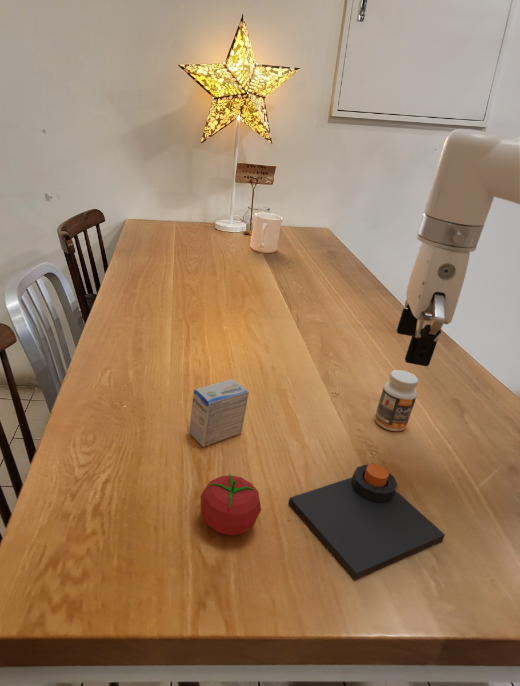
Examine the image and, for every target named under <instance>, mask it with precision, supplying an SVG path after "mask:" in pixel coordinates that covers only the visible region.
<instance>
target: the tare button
mask: <svg viewBox="0 0 520 686" xmlns="http://www.w3.org/2000/svg"><path fill="white" fill-rule="evenodd" d="M367 465H368V466H367V469H366V472H365V475H364V479H365V481H366V482H367V483H368V484H370V485H372V486H374V487H384V486H385V485H386V482H387V479H388V476H389V473H390V472H389V471H388V469H387V468H386V467H385V466H383V465H380V464H377V463H371V464H367Z"/></svg>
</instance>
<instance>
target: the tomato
mask: <svg viewBox="0 0 520 686" xmlns="http://www.w3.org/2000/svg"><path fill="white" fill-rule="evenodd" d="M261 511H262V506H261V500H260V494H259V491H258V490H257V488H256V487H255V486H254V484H253V483H251V482H250V481H248V480H246V479H244V478H243V477H241V476H237V475H232V474H231V473H228V475H221V476H218V477H216V478H213V479H212V480H209V482H208V483H207V485H206V486H205V488H204V489H203V491H202V493H201V495H200V513H201V517H202V518H203V520H204V521H205V523H206V525H207V526H209V527H210V528H211V529H213V531H216V532H218V533H219V534H222V535H225V536H235V535H241V534H243V533H245V532H248V531H249V530H250V529H252V528H253V527H254V525H255V523H256V521H257V519H258V518H259V516H260V513H261Z"/></svg>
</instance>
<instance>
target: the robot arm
mask: <svg viewBox="0 0 520 686" xmlns="http://www.w3.org/2000/svg"><path fill="white" fill-rule="evenodd" d="M495 198H498V199H500V200H501V199H502V200H505V201H508V202H510V203H514V204H517V205H520V135H519V136H517V137H514V138H512V139H509V138H508V137H506V136H505V135H502V134H499V133H494V132H491V131H483V130H476V129H468V128H458V129H454V130H452V131H451V132H450V133H449V134H448V135H447V136H446V138H445V140H444V143H443V146H442V150H441V153H440V156H439V159H438V163H437V165H436V169H435V173H434V176H433V180H432V183H431V186H430V189H429V193H428V196H427V199H426V204H425V206H424V210H423V213H422V217H421V220H420V224H419V227H418V230H417V234H416V236H415V237H416V240H418V241H419V242H421V243H420V246H419V250H418V252H417V255H416V258H415V261H414V264H413V267H412V271H411V274H410V277H409V280H408V285H407V289H406V293H405V294H406V295H405V296H406V300H405V302H404V307H403V308H402V311H401V314H400V318H399V320H398V324H397V328H396V333H397V334H398V335H404V336H408V337H411V338H410V341H409V344H408V347H407V351H406V354H405V357H404V361H405V363H407V364H412V365H417V366H422V367H429V365H430V363H431V360H432V358H433V354H434V352H435V349H436V347H437V344H438V342H439V338H440V335H441V333H442V327H443V326H444V325H449V324H451V323H452V321H453V319H454V316H455V312H456V309H457V305H458V303H459V299H460V296H461V292H462V289H463V285H464V282H465V278H466V274H467V270H468V265H469V261H470V255H471V253H472V252H475V251H476V249H477V247H478V243H479V241H480V238H481V235H482V233H483V229H484V226H485V224H486V221H487V218H488V216H489V212H490V210H491V207H492V204H493V201H494V199H495ZM424 323H427V324H426V325H424Z"/></svg>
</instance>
